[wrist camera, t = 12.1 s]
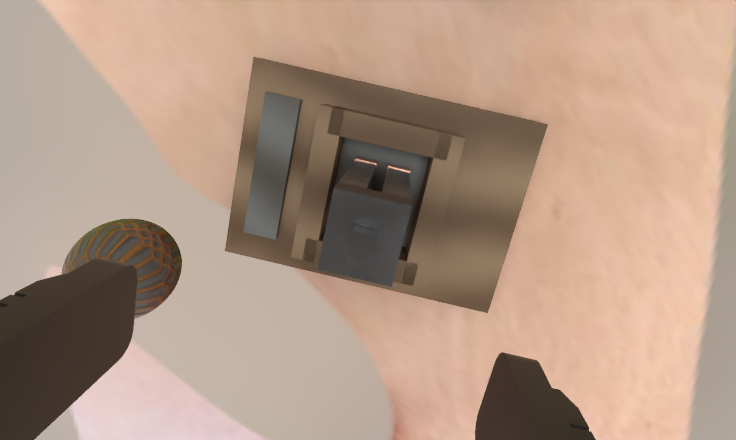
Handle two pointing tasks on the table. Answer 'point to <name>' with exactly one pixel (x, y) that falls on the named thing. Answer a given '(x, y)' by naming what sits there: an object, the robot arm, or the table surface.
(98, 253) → the vase
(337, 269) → the grey square peg
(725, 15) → the table surface
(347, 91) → the stand
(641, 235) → the table surface
